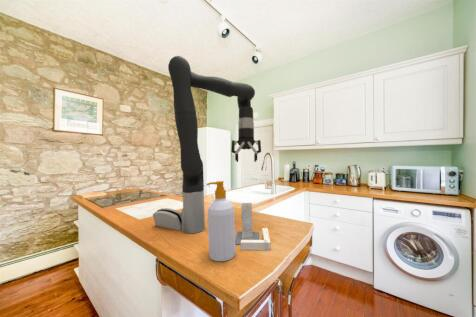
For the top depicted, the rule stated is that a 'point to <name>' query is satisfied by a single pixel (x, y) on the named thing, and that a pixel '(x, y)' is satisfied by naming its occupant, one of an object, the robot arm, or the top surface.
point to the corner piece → (257, 242)
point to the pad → (239, 237)
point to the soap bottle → (221, 226)
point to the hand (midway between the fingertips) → (246, 161)
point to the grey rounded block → (168, 218)
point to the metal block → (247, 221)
